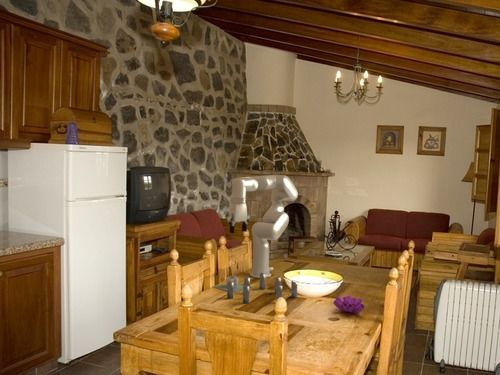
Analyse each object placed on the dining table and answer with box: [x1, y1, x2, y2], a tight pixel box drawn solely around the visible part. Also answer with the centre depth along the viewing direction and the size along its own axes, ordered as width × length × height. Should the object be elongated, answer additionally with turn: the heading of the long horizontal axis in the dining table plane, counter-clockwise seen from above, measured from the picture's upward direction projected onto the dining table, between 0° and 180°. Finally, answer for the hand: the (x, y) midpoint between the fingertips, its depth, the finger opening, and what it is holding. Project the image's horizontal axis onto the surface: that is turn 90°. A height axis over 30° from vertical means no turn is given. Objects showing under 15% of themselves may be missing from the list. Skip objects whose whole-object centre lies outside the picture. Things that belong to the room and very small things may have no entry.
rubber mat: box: [213, 283, 251, 294], centre depth 247 cm, size 14×14×1 cm
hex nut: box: [225, 275, 239, 288], centre depth 247 cm, size 6×6×5 cm
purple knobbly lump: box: [333, 295, 366, 314], centre depth 212 cm, size 11×15×10 cm
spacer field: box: [226, 273, 298, 305], centre depth 230 cm, size 27×24×8 cm
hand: (238, 232), depth 255 cm, fingers open, 9 cm apart
